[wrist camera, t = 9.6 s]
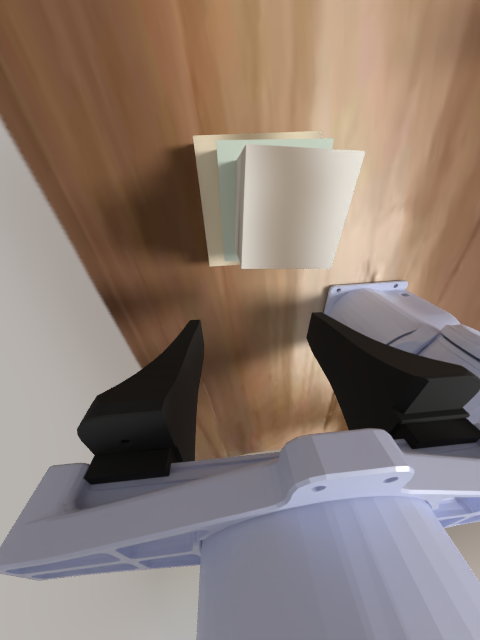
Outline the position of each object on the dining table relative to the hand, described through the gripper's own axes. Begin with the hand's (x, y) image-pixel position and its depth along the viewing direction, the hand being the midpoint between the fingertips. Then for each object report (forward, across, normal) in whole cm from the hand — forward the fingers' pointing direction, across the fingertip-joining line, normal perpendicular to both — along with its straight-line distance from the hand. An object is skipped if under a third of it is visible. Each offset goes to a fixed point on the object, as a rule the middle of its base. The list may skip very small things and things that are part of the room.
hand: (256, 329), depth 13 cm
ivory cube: (+5, -2, -6) cm, 8 cm away
